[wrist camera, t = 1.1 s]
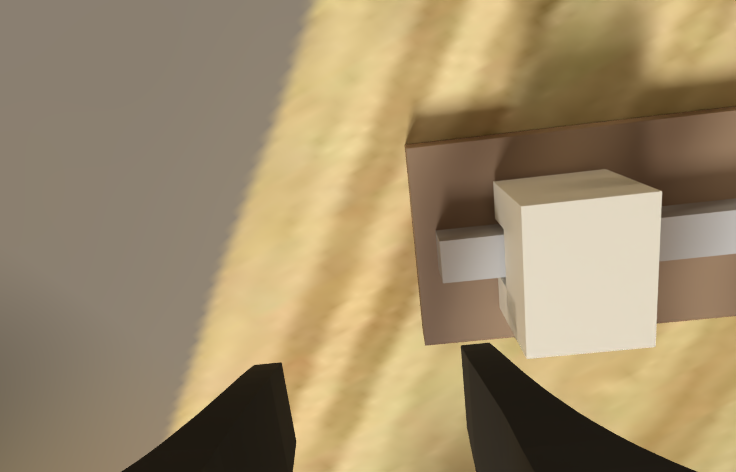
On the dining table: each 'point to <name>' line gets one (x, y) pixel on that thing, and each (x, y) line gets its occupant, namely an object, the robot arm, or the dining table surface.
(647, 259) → the slider
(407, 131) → the dining table surface
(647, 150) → the rail board
